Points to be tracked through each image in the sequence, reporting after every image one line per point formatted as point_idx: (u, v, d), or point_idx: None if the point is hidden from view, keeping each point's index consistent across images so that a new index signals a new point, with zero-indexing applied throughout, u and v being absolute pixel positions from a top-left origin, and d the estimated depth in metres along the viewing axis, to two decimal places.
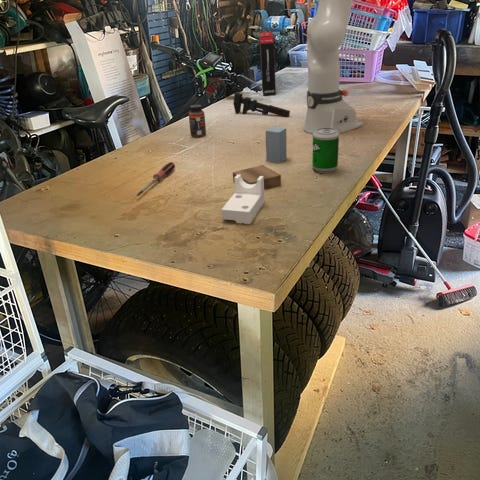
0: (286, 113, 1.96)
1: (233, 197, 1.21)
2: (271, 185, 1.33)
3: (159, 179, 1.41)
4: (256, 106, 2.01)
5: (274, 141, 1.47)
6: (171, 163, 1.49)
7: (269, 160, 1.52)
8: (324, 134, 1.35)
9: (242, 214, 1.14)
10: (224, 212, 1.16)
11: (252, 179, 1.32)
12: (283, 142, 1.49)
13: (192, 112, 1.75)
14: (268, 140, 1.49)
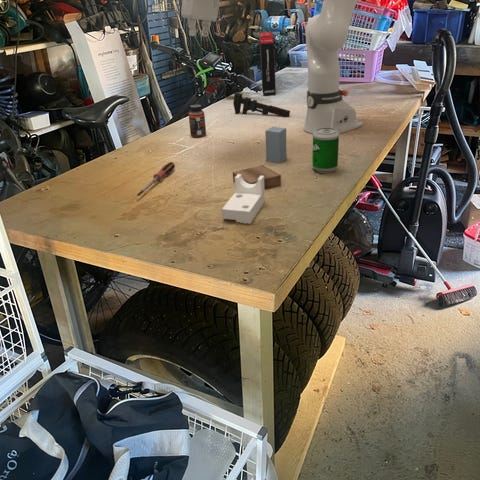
0: (286, 113, 1.96)
1: (233, 197, 1.22)
2: (271, 185, 1.33)
3: (159, 179, 1.41)
4: (256, 106, 2.01)
5: (274, 141, 1.47)
6: (171, 163, 1.49)
7: (269, 160, 1.52)
8: (324, 134, 1.35)
9: (242, 214, 1.15)
10: (224, 212, 1.16)
11: (252, 179, 1.32)
12: (283, 142, 1.49)
13: (192, 112, 1.75)
14: (268, 140, 1.49)
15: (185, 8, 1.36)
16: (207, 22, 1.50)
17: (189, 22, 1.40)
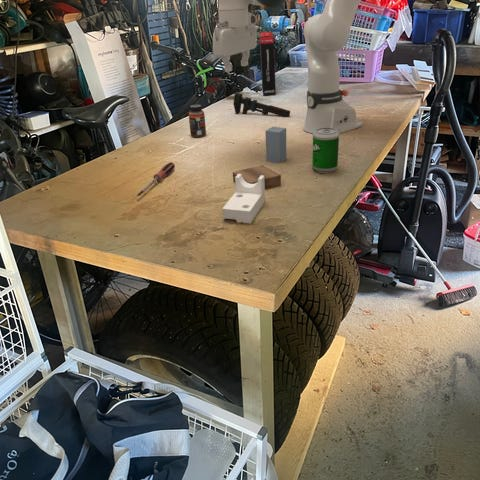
0: (286, 113, 1.96)
1: (234, 196, 1.22)
2: (271, 185, 1.33)
3: (159, 179, 1.41)
4: (256, 106, 2.01)
5: (274, 141, 1.47)
6: (171, 163, 1.49)
7: (269, 160, 1.52)
8: (324, 134, 1.35)
9: (243, 213, 1.15)
10: (225, 211, 1.16)
11: (252, 179, 1.32)
12: (283, 142, 1.49)
13: (192, 112, 1.75)
14: (268, 140, 1.49)
15: (216, 49, 1.38)
16: (245, 52, 1.50)
17: (223, 59, 1.42)
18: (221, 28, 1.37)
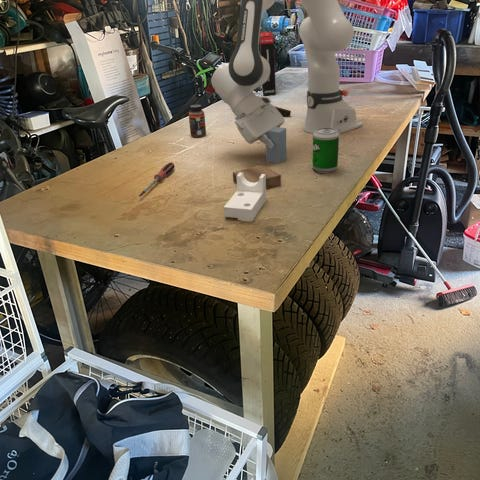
0: (287, 113, 1.96)
1: (235, 195, 1.22)
2: (271, 185, 1.33)
3: (160, 179, 1.41)
4: None
5: (274, 140, 1.47)
6: (171, 163, 1.49)
7: (269, 160, 1.52)
8: (324, 134, 1.35)
9: (244, 212, 1.15)
10: (226, 210, 1.17)
11: (252, 179, 1.32)
12: (283, 142, 1.49)
13: (192, 112, 1.75)
14: None
15: (246, 136, 1.43)
16: None
17: (262, 140, 1.47)
18: (240, 119, 1.44)
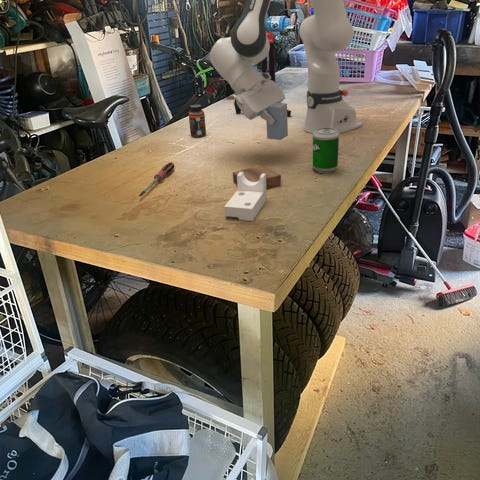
0: (287, 113, 1.96)
1: (236, 194, 1.23)
2: (271, 185, 1.33)
3: (160, 179, 1.41)
4: None
5: (275, 116, 1.44)
6: (171, 163, 1.49)
7: (270, 137, 1.48)
8: (324, 134, 1.35)
9: (245, 211, 1.16)
10: (227, 209, 1.17)
11: (252, 179, 1.32)
12: (284, 118, 1.46)
13: (192, 112, 1.75)
14: None
15: (246, 112, 1.39)
16: None
17: (262, 116, 1.43)
18: (240, 94, 1.41)
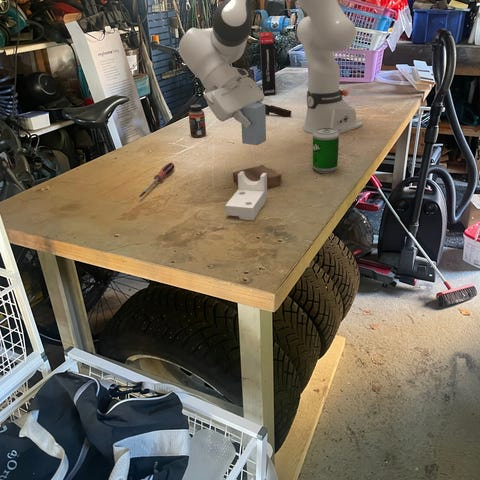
0: (288, 113, 1.96)
1: (236, 194, 1.23)
2: (271, 185, 1.33)
3: (160, 180, 1.41)
4: None
5: (251, 118, 1.25)
6: (171, 164, 1.49)
7: (245, 142, 1.30)
8: (324, 134, 1.35)
9: (246, 210, 1.16)
10: (228, 208, 1.17)
11: (252, 179, 1.32)
12: (262, 120, 1.27)
13: (192, 112, 1.75)
14: None
15: (217, 112, 1.21)
16: None
17: (236, 118, 1.25)
18: (211, 92, 1.22)
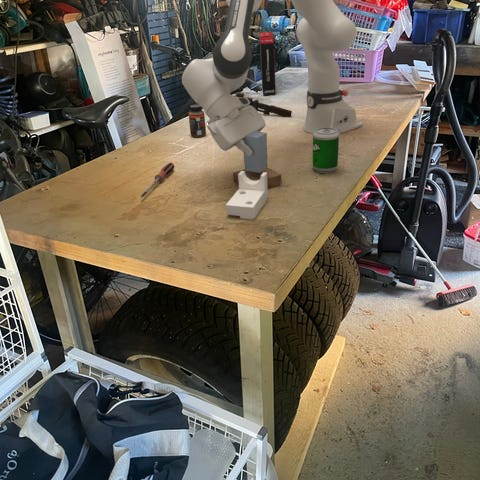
0: (288, 113, 1.96)
1: (237, 193, 1.23)
2: (271, 185, 1.33)
3: (161, 180, 1.41)
4: (258, 106, 2.01)
5: (253, 147, 1.29)
6: (170, 164, 1.48)
7: (247, 169, 1.33)
8: (324, 134, 1.35)
9: (246, 209, 1.16)
10: (228, 208, 1.18)
11: (252, 179, 1.32)
12: (263, 148, 1.31)
13: (192, 112, 1.75)
14: None
15: (220, 142, 1.25)
16: None
17: (238, 147, 1.29)
18: (214, 122, 1.26)
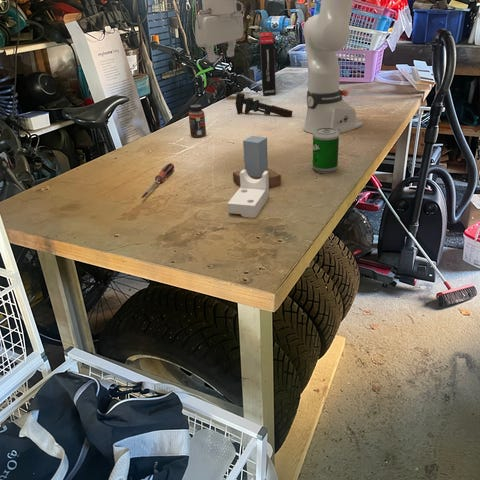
0: (289, 113, 1.96)
1: (238, 191, 1.24)
2: (271, 185, 1.33)
3: (161, 180, 1.41)
4: (258, 106, 2.01)
5: (253, 152, 1.30)
6: (170, 164, 1.48)
7: (248, 174, 1.34)
8: (324, 134, 1.35)
9: (248, 208, 1.17)
10: (230, 206, 1.19)
11: None
12: (264, 153, 1.32)
13: (192, 112, 1.75)
14: (246, 152, 1.31)
15: (198, 38, 1.30)
16: (231, 41, 1.42)
17: (207, 49, 1.35)
18: (204, 15, 1.29)
